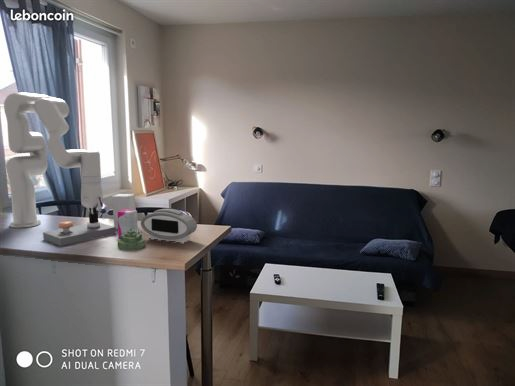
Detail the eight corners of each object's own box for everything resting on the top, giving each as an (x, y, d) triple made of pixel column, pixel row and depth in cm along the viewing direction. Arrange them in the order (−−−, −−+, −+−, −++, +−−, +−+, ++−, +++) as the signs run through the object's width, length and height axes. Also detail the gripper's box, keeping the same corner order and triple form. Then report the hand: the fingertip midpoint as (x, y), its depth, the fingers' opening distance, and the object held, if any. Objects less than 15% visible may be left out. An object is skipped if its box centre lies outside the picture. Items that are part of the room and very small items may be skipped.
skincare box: (137, 227, 189) (136, 194, 187) (130, 231, 183) (129, 196, 180) (120, 226, 191) (118, 193, 188) (112, 229, 184) (111, 195, 182)
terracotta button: (56, 234, 167) (56, 222, 166) (69, 231, 171) (68, 220, 170) (63, 236, 164) (62, 224, 163) (75, 233, 168) (75, 222, 167)
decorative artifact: (128, 241, 166) (112, 248, 157) (128, 224, 165) (111, 230, 156) (150, 244, 163) (134, 251, 154) (149, 227, 162) (133, 233, 153)
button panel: (43, 239, 167) (43, 232, 167) (98, 228, 186) (97, 222, 185) (60, 246, 159) (60, 238, 158) (115, 233, 177) (115, 227, 177)
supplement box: (138, 236, 174) (137, 209, 172) (129, 240, 168) (128, 212, 166) (126, 235, 176) (125, 208, 174) (117, 238, 170) (116, 211, 168)
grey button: (85, 233, 176) (84, 222, 176) (96, 230, 180) (95, 220, 180) (91, 235, 173) (91, 224, 173) (103, 232, 177) (102, 222, 177)
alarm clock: (140, 238, 171) (139, 208, 169) (149, 235, 177) (149, 205, 175) (189, 245, 163) (189, 213, 161) (197, 241, 168) (197, 210, 166)
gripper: (73, 179, 175) (76, 221, 178) (92, 182, 166) (95, 227, 169) (90, 177, 181) (92, 218, 184) (109, 180, 172) (111, 223, 174)
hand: (93, 222), depth 176 cm, fingers closed
